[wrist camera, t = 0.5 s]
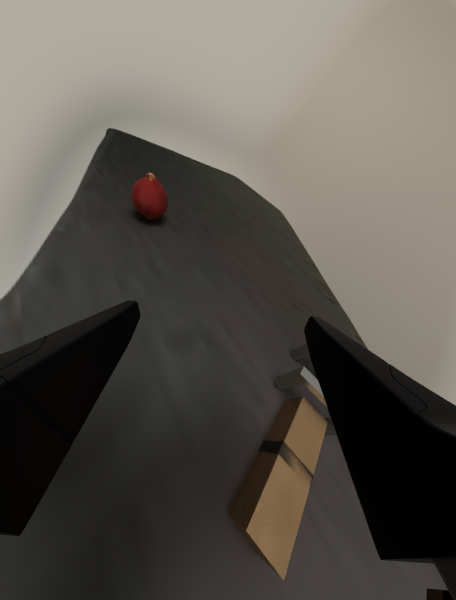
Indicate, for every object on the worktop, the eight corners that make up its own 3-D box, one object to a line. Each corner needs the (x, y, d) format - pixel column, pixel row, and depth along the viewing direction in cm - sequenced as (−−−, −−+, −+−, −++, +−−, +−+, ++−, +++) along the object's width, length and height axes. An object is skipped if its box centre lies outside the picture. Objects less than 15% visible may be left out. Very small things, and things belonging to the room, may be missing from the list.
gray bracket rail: (339, 454, 22) (384, 459, 18) (273, 383, 24) (300, 373, 20) (349, 406, 26) (386, 401, 22) (293, 350, 28) (318, 337, 24)
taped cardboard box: (257, 554, 14) (284, 581, 12) (227, 513, 15) (245, 530, 13) (305, 424, 22) (328, 422, 20) (283, 400, 23) (302, 396, 20)
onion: (141, 205, 35) (141, 159, 29) (169, 218, 36) (175, 176, 30) (126, 218, 31) (123, 168, 25) (158, 232, 32) (162, 187, 26)
